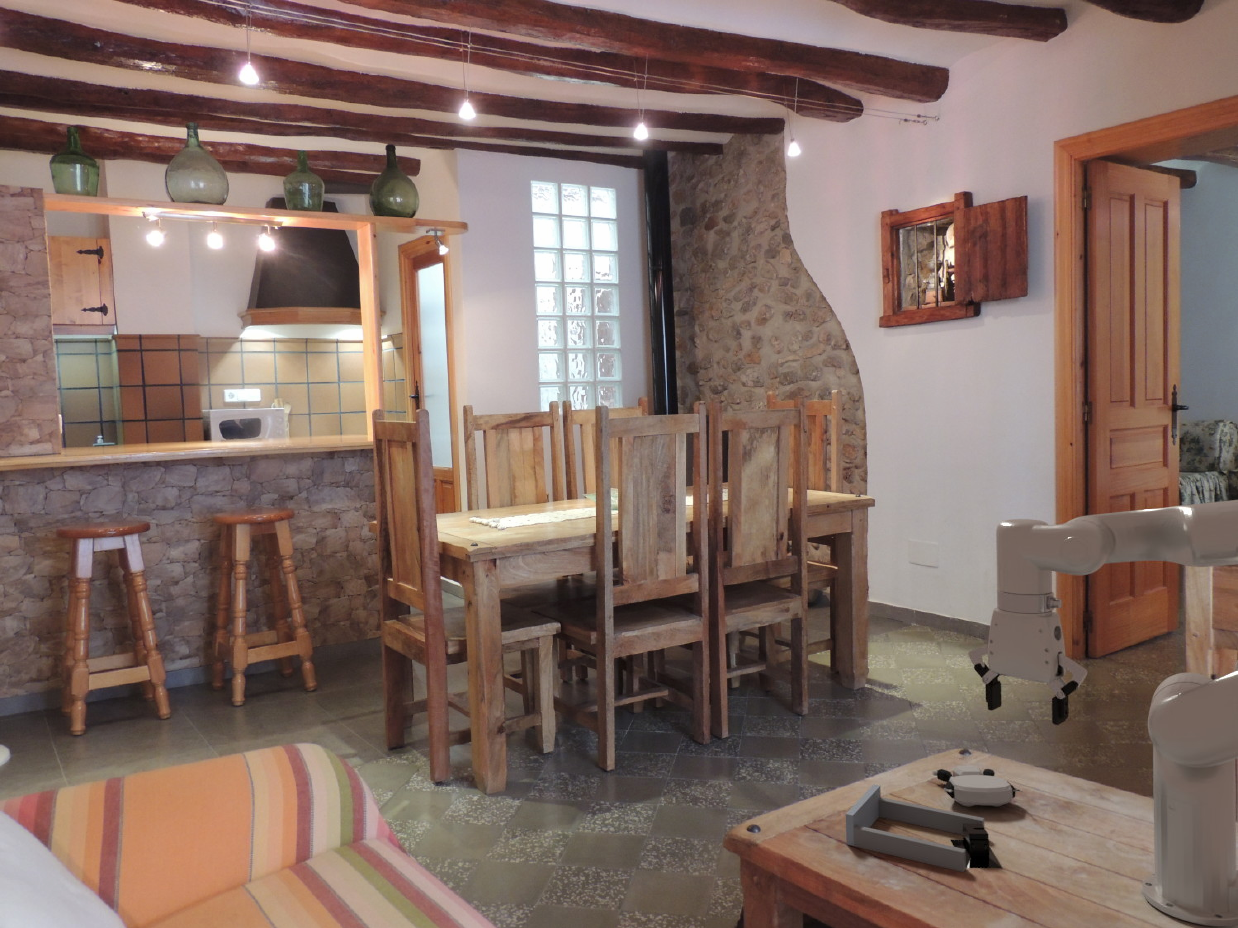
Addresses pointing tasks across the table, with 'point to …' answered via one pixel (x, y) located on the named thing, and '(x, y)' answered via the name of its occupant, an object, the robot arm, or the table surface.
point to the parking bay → (906, 846)
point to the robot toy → (976, 786)
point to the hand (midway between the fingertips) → (1026, 715)
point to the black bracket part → (976, 847)
